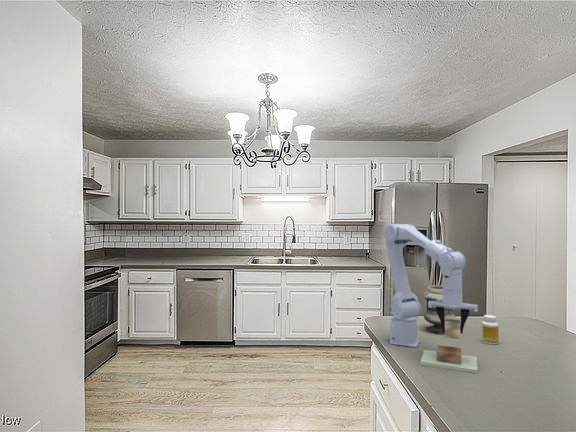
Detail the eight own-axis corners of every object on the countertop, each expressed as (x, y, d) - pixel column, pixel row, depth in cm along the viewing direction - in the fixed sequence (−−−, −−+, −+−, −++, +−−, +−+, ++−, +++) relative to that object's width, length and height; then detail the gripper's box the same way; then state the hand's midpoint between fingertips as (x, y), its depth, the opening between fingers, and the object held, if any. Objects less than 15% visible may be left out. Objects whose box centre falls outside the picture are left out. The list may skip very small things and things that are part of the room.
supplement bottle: (500, 345, 138) (500, 318, 138) (484, 344, 139) (484, 317, 140) (495, 340, 144) (495, 314, 144) (480, 339, 145) (480, 314, 145)
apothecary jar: (420, 332, 154) (420, 287, 155) (427, 325, 165) (427, 283, 165) (452, 337, 148) (452, 290, 148) (457, 329, 158) (457, 286, 158)
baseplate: (420, 364, 120) (420, 361, 120) (424, 352, 130) (424, 349, 130) (477, 373, 113) (477, 370, 113) (476, 359, 124) (476, 356, 124)
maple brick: (444, 337, 122) (444, 321, 122) (445, 333, 126) (445, 318, 126) (460, 339, 120) (460, 323, 120) (460, 335, 124) (460, 319, 124)
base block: (436, 361, 120) (436, 351, 120) (438, 354, 126) (438, 345, 126) (461, 364, 117) (460, 354, 117) (461, 357, 123) (461, 347, 123)
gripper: (427, 289, 122) (427, 332, 122) (478, 293, 116) (478, 338, 116) (429, 286, 129) (429, 326, 128) (477, 289, 123) (477, 332, 122)
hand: (452, 331), depth 123 cm, fingers closed on maple brick, 4 cm apart
